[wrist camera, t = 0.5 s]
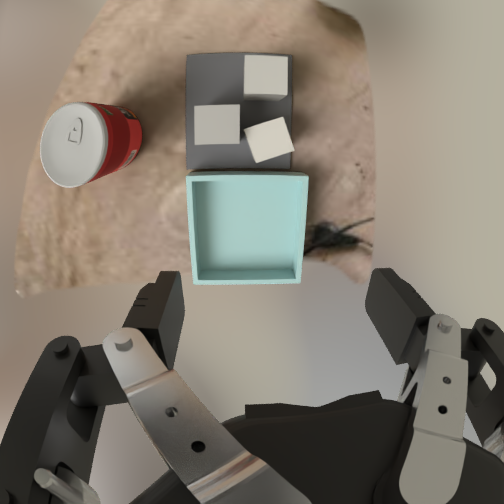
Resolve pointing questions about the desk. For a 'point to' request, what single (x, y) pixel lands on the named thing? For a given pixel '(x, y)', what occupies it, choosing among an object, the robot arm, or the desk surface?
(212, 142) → the stone
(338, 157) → the desk surface
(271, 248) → the bin
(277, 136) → the stone
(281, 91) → the stone
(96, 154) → the canned food
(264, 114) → the mat
